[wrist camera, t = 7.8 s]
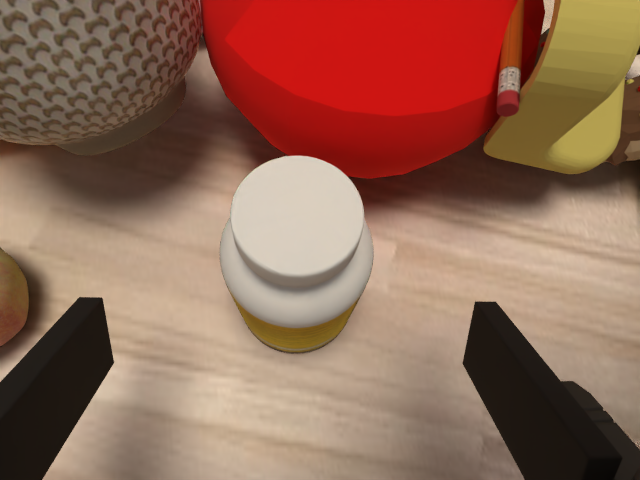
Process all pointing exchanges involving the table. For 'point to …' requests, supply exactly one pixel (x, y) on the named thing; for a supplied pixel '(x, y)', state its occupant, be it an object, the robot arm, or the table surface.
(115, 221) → the table surface
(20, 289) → the apple
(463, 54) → the vase
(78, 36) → the planter
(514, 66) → the pencil
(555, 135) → the plastic component
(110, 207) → the table surface
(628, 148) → the donut
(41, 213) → the table surface
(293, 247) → the pill bottle
